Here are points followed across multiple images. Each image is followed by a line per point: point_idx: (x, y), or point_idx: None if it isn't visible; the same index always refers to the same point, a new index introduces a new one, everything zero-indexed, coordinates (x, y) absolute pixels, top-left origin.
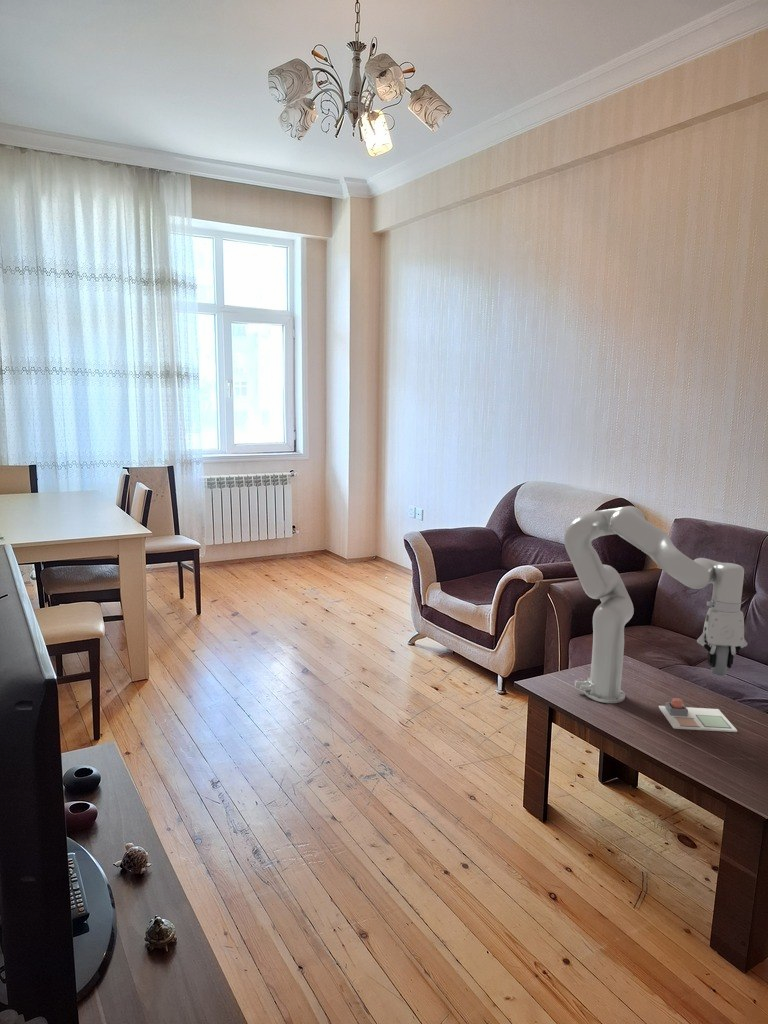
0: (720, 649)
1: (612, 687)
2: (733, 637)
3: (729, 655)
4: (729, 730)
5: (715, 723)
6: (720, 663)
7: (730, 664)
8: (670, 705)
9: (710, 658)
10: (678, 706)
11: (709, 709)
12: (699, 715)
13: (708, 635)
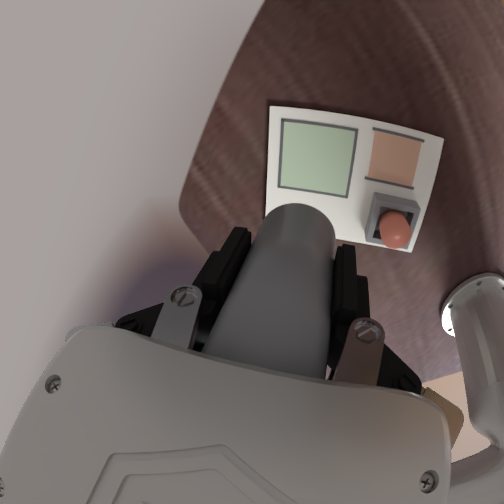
0: (301, 342)
1: (494, 303)
2: (120, 439)
3: (222, 290)
4: (292, 108)
5: (316, 145)
6: (306, 249)
7: (234, 238)
8: None
9: (363, 298)
10: (399, 215)
11: None
12: (337, 193)
13: (448, 495)
